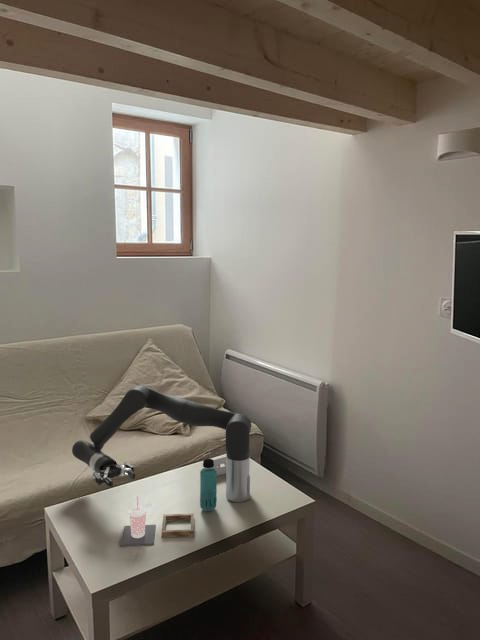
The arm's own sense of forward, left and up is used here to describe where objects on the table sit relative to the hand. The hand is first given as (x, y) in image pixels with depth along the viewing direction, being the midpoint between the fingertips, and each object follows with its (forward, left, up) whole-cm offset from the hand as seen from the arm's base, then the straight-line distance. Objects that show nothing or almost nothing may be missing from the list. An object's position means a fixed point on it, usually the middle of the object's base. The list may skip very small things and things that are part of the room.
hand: (123, 480), depth 175 cm
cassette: (-38, -35, -16) cm, 54 cm away
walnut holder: (-20, +5, -16) cm, 26 cm away
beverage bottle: (-31, -6, -16) cm, 35 cm away
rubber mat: (-6, +9, -16) cm, 19 cm away
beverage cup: (-6, +9, -16) cm, 19 cm away
